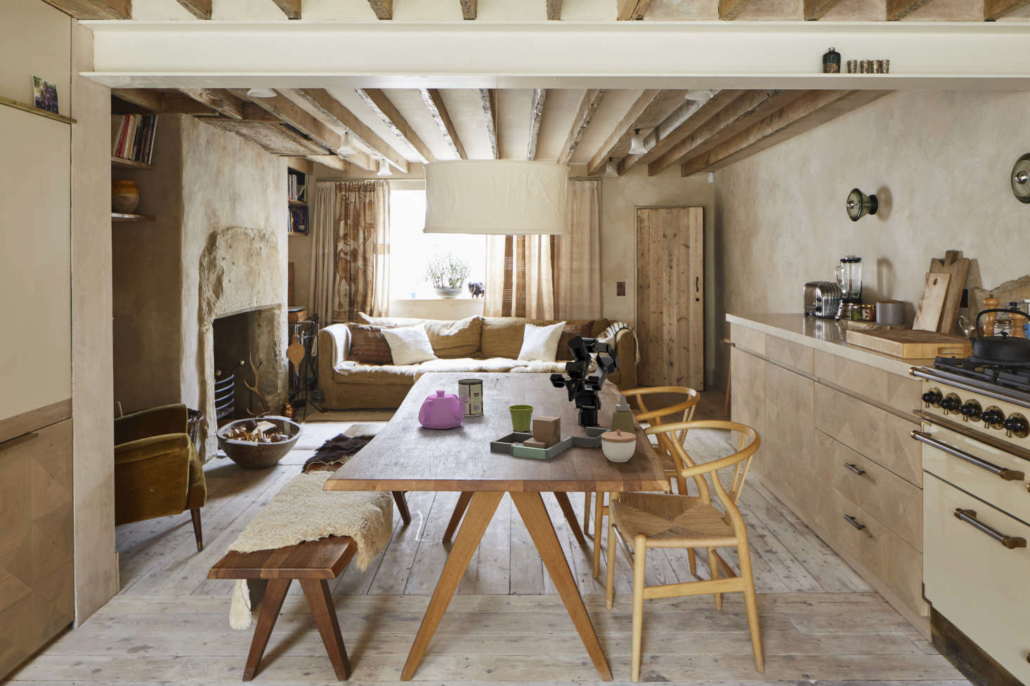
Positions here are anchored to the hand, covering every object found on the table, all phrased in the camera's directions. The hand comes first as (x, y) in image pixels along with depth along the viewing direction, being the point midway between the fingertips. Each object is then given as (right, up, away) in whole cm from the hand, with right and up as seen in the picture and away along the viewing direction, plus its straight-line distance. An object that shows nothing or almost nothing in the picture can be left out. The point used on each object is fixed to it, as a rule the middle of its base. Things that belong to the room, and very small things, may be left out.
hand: (569, 401), depth 248 cm
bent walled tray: (-7, -14, -13) cm, 20 cm away
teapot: (-46, -11, +16) cm, 50 cm away
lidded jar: (+13, -16, -32) cm, 38 cm away
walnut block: (-11, -14, -20) cm, 27 cm away
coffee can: (-38, -9, +39) cm, 55 cm away
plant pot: (-17, -12, +9) cm, 23 cm away
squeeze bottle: (+16, -14, -17) cm, 28 cm away
